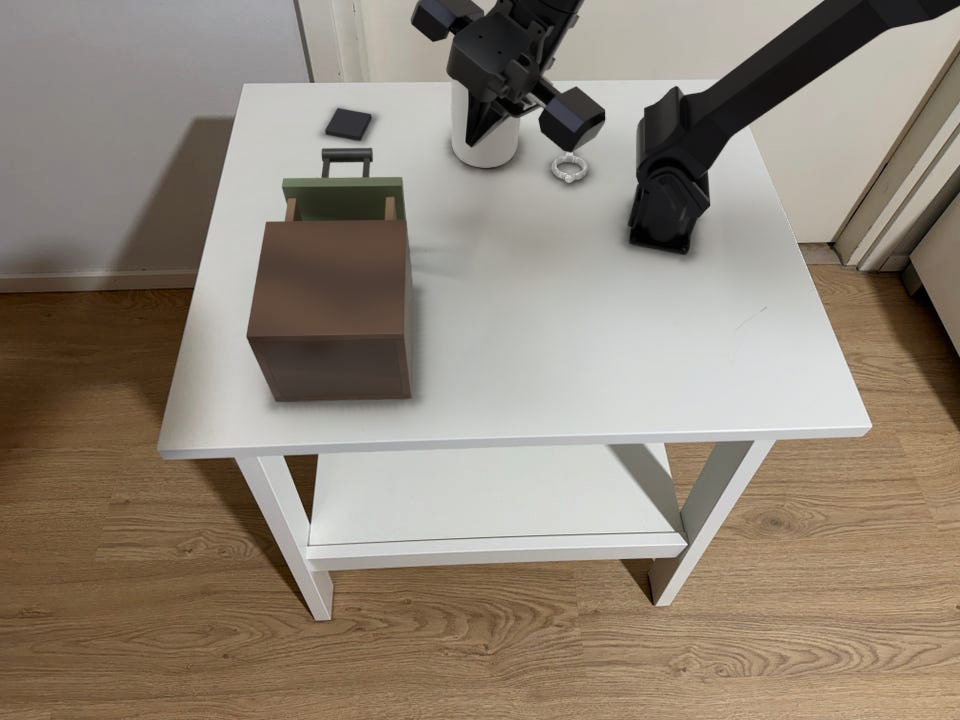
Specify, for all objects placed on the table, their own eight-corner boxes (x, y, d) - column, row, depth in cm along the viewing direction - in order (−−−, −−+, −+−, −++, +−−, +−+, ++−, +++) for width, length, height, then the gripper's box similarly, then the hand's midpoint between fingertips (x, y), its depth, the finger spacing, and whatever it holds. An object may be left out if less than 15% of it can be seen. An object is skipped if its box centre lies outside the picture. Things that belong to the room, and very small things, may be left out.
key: (550, 183, 81) (587, 185, 81) (551, 177, 80) (588, 179, 80) (553, 116, 88) (587, 118, 88) (554, 110, 87) (588, 112, 87)
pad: (371, 117, 87) (371, 113, 87) (360, 140, 85) (359, 136, 84) (338, 111, 88) (337, 107, 87) (325, 134, 85) (324, 130, 85)
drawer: (305, 205, 78) (288, 141, 70) (409, 204, 78) (403, 140, 71) (288, 329, 68) (267, 270, 61) (406, 326, 69) (399, 268, 62)
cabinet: (290, 294, 72) (265, 221, 63) (413, 292, 72) (406, 219, 63) (275, 401, 65) (245, 336, 56) (411, 398, 66) (403, 333, 57)
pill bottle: (512, 174, 82) (521, 59, 70) (445, 164, 83) (441, 48, 70) (523, 130, 86) (533, 14, 74) (459, 121, 87) (458, 4, 74)
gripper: (404, -72, 52) (345, 103, 63) (596, 83, 50) (501, 236, 61) (482, -79, 60) (417, 78, 71) (650, 56, 58) (557, 195, 69)
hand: (470, 144), depth 68 cm, fingers closed
